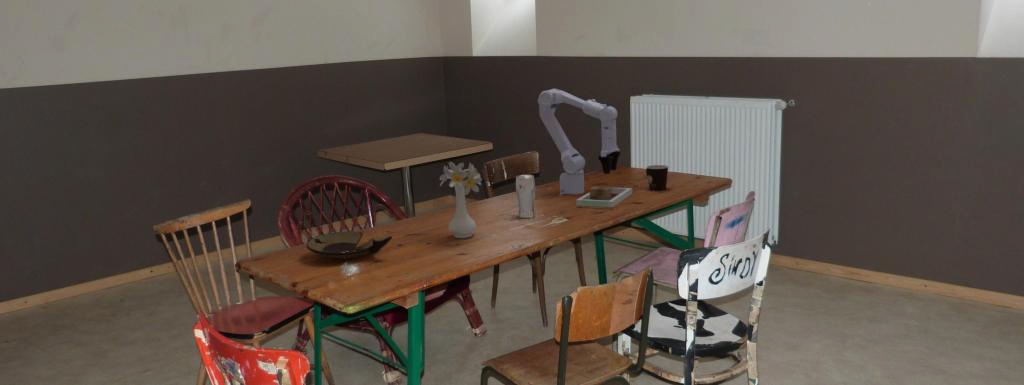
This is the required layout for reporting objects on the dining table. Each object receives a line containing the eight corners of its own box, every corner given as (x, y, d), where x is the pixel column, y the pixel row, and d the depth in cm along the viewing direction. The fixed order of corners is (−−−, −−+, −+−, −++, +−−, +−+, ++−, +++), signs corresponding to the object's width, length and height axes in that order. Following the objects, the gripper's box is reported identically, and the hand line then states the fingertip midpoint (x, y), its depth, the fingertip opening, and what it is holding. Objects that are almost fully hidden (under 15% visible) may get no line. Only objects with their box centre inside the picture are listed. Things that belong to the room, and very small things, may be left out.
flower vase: (466, 244, 276) (461, 169, 271) (433, 235, 290) (428, 163, 285) (497, 236, 285) (493, 163, 279) (464, 228, 299) (459, 158, 293)
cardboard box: (589, 203, 323) (589, 188, 322) (594, 200, 328) (593, 186, 326) (607, 203, 320) (607, 189, 319) (611, 201, 324) (611, 187, 323)
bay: (576, 207, 321) (576, 199, 320) (598, 194, 342) (598, 186, 342) (612, 209, 314) (612, 201, 314) (632, 195, 336) (632, 188, 335)
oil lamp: (351, 242, 288) (349, 220, 287) (405, 256, 267) (403, 233, 265) (293, 257, 273) (290, 234, 272) (345, 274, 252) (342, 249, 250)
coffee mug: (670, 193, 337) (669, 168, 335) (648, 194, 337) (648, 169, 335) (665, 187, 349) (665, 163, 347) (644, 188, 349) (644, 164, 347)
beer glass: (514, 218, 310) (512, 177, 306) (522, 213, 316) (520, 174, 312) (531, 219, 306) (529, 178, 303) (539, 214, 312) (537, 174, 309)
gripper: (612, 140, 324) (613, 175, 327) (624, 135, 337) (625, 168, 340) (595, 140, 327) (596, 174, 330) (607, 134, 340) (608, 168, 343)
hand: (610, 171), depth 335 cm, fingers open, 7 cm apart
